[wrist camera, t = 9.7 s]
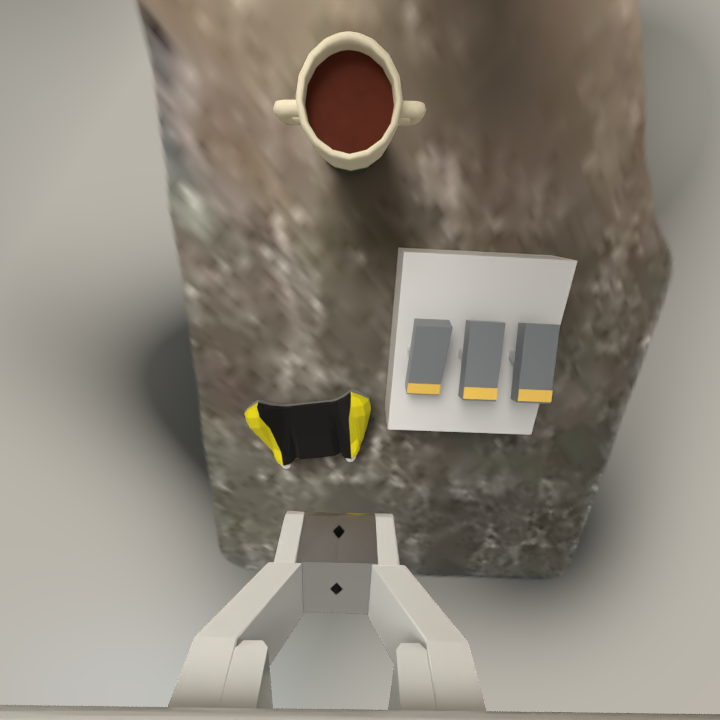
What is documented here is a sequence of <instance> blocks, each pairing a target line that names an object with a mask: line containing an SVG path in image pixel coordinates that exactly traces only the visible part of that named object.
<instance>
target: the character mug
mask: <svg viewBox="0 0 720 720" xmlns="http://www.w3.org/2000/svg"><path fill="white" fill-rule="evenodd" d="M273 110H274V112H275V114H276V116H277V117H278V118H279V120H280V121H281V122H283V123H285V124H287V125H301V126H302V128H303V129H304V131H305V133H306V134H307V136H308V138H309V139H310V141H311V142H312V144H313V146H314V147H315V149H316V150H317V152H318V154H319V155H320V157H322V158H323V159H324V160H326V161H327V162H328V163H330V164H331V165H332V166H333V167H335V168H337V169H338V170H340V171H342V172H344V173H360V172H362V171H364V170H366V169H367V168H369V167H371V166H372V165H373V164H374V162H375V161H376V160H378V159H379V158H380V157H381V156H382V155H383V153H384V152H385V150H386V148H387V147H388V145H389V143H390V142H391V140H392V138H393V136H394V134H395V132H396V130H397V127H398V126H414V125H416V124H418V123H420V121H421V120H422V118H423V117H424V115H425V112H426V107H425V105H424V103H422V102H420V101H403V97H402V90H401V83H400V76H399V74H398V72H397V70H396V68H395V66H394V64H393V62H392V60H391V58H390V56H389V54H388V53H387V52H386V51H385V50H384V49H383V48H382V47H381V46H380V45H379V44H378V43H377V42H376V41H375V40H374V39H372V38H370V37H367V36H365V35H363V34H361V33H356V32H350V31H348V32H341V33H337V34H334V35H332V36H330V37H327V38H325V39H324V40H323V41H322V42H321V43H320V44H319V45H318V46H317V47H315V48H314V49H313V50H312V51H311V52H310V53H309V55H308V57H307V59H306V61H305V63H304V65H303V67H302V70H301V72H300V74H299V78H298V85H297V93H296V100H279V101H276V102H275V105H274V108H273Z"/></svg>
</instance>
